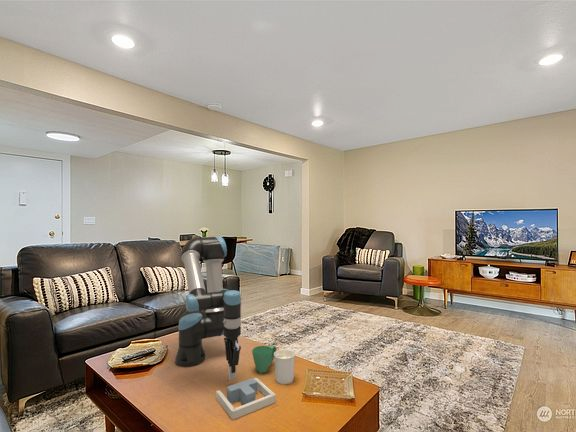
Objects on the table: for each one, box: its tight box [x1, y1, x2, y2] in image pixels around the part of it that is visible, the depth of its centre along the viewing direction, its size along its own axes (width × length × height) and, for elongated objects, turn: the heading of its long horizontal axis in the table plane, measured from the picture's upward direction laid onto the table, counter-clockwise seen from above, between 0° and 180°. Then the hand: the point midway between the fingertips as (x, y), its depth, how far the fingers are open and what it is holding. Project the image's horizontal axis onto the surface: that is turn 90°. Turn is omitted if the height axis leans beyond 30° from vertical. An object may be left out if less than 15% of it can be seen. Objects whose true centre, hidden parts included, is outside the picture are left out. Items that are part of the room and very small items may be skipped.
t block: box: [226, 377, 258, 405], centre depth 126 cm, size 10×12×5 cm
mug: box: [251, 344, 277, 374], centre depth 152 cm, size 15×10×10 cm
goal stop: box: [215, 377, 277, 420], centre depth 125 cm, size 16×19×3 cm
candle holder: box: [273, 348, 296, 385], centre depth 141 cm, size 10×10×12 cm
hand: (232, 378), depth 137 cm, fingers closed
